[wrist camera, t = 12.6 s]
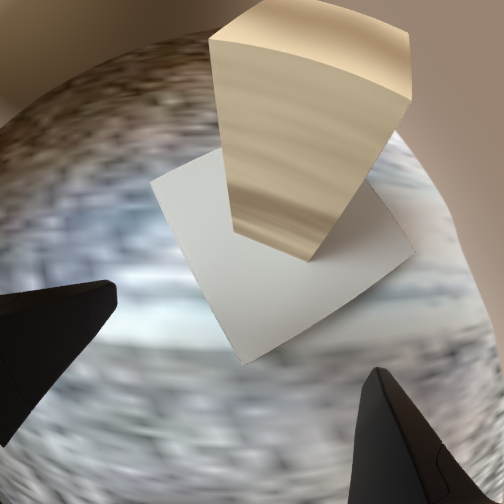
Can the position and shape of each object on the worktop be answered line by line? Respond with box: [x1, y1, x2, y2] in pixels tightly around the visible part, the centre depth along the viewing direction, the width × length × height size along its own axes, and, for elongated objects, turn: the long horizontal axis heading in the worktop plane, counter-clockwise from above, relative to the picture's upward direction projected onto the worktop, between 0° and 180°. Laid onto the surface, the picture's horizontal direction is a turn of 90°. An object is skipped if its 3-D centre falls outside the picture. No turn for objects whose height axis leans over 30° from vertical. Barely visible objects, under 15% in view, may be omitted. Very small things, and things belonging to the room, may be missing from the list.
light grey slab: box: [150, 147, 416, 366], centre depth 19 cm, size 14×14×3 cm
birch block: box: [209, 0, 412, 263], centre depth 12 cm, size 5×5×13 cm
